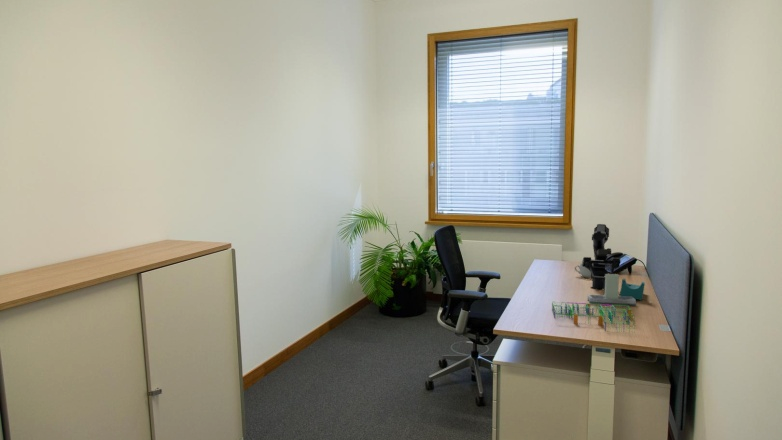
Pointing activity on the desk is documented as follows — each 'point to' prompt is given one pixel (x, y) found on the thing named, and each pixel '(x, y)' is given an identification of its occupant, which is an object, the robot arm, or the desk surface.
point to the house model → (601, 312)
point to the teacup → (583, 271)
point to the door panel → (611, 286)
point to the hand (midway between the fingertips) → (602, 275)
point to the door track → (612, 300)
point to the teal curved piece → (632, 290)
